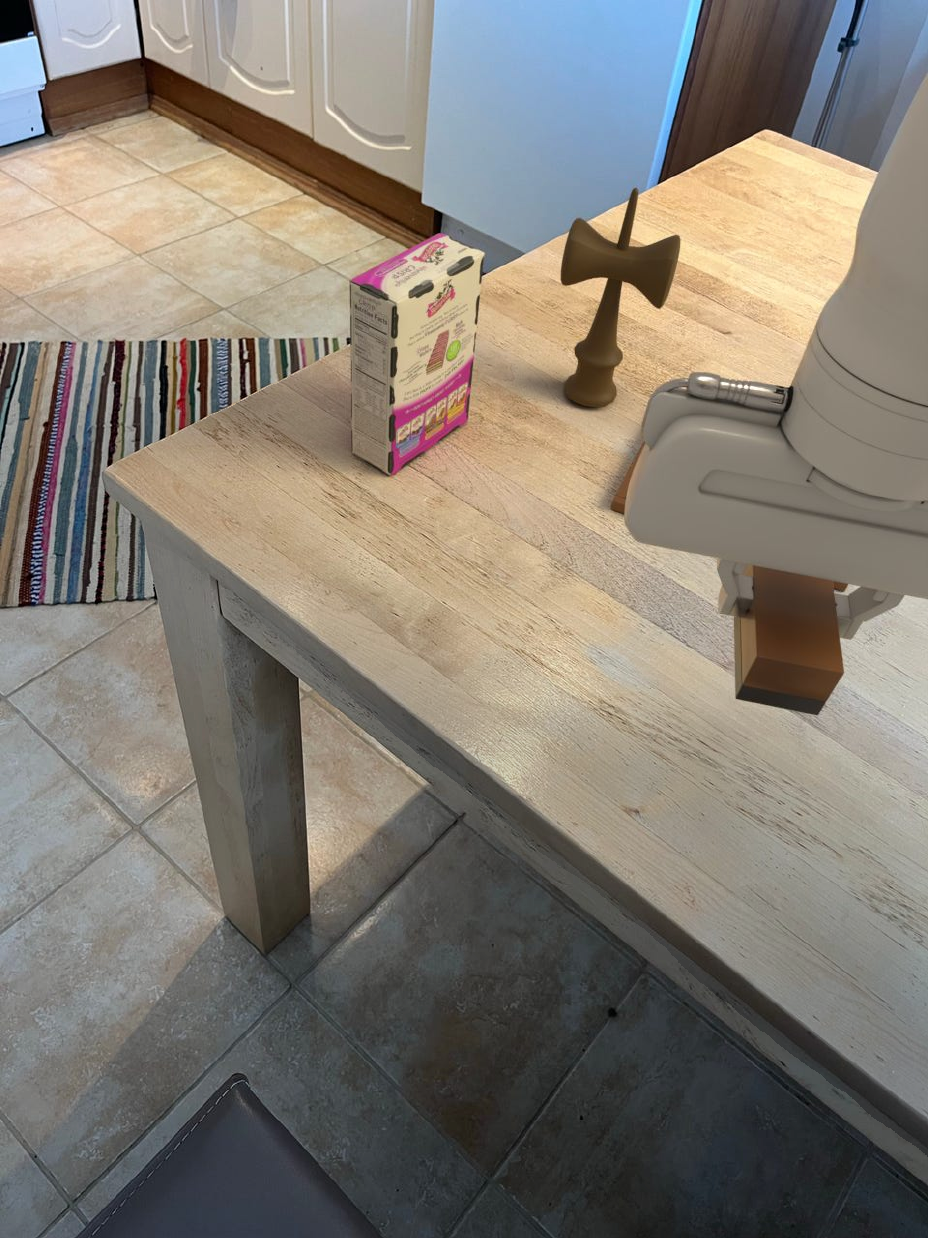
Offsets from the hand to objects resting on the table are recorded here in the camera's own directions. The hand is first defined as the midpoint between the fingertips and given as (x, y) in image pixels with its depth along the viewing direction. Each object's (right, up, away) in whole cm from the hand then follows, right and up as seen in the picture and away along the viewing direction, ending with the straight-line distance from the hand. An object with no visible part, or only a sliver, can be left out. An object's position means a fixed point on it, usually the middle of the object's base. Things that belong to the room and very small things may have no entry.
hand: (783, 618), depth 52 cm
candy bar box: (-22, +16, +33) cm, 43 cm away
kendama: (-6, +21, +40) cm, 45 cm away
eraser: (0, -1, +1) cm, 2 cm away
